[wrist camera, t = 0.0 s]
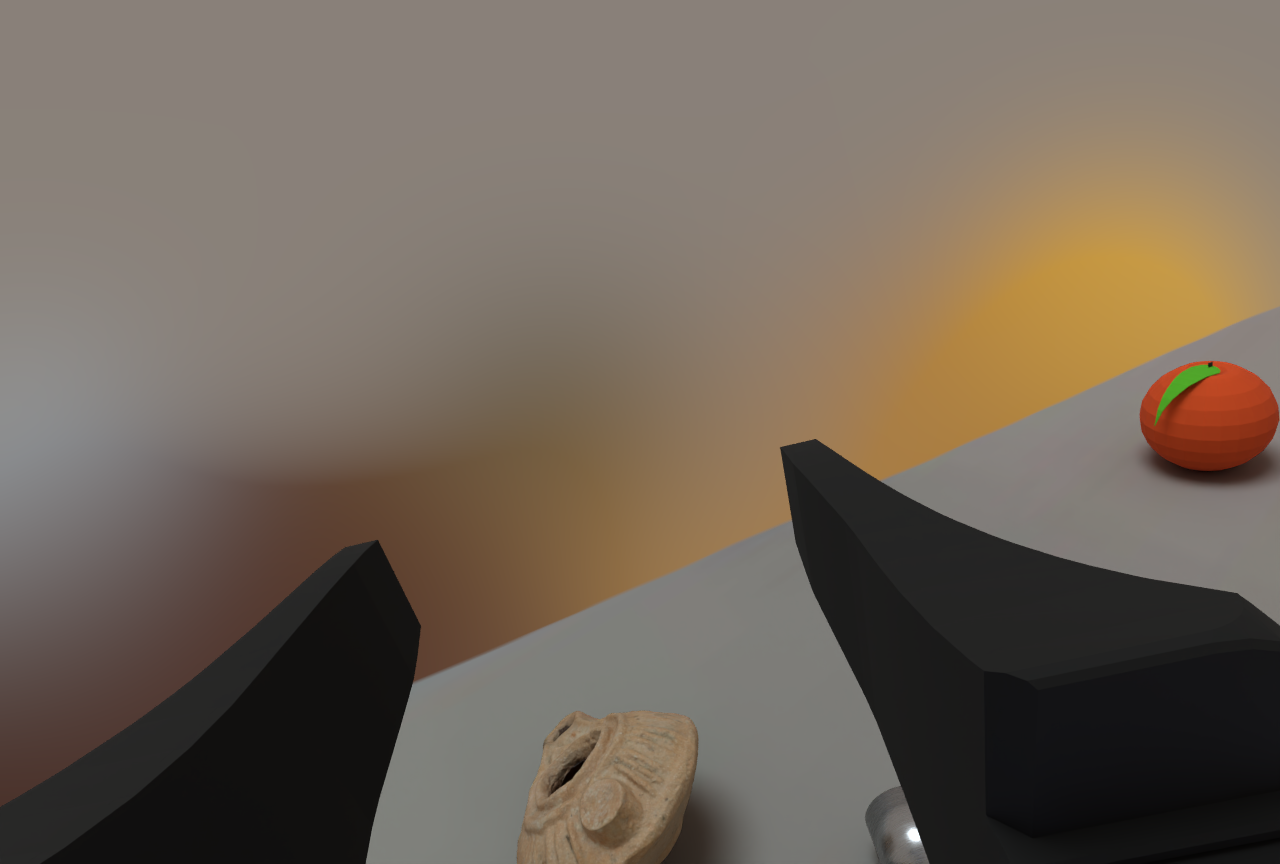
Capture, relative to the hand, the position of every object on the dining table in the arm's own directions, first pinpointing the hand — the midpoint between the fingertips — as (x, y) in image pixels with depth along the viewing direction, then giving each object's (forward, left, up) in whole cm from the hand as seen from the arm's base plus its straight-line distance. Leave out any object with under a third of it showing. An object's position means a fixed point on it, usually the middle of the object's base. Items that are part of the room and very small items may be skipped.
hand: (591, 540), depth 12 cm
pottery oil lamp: (+12, +5, -22) cm, 26 cm away
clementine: (+30, -34, -22) cm, 50 cm away
